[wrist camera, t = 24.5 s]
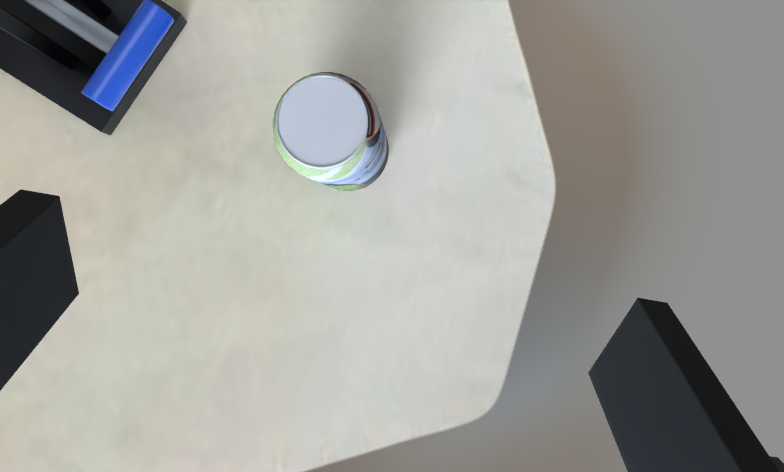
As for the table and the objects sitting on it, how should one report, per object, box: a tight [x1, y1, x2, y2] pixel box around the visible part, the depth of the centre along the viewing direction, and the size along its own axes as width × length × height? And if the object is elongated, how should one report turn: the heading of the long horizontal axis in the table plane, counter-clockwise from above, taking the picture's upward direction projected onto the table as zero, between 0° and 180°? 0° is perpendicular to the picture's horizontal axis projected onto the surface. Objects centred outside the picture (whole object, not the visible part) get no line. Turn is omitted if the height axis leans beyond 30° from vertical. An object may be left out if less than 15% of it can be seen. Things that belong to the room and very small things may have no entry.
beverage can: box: [273, 72, 389, 191], centre depth 32 cm, size 6×7×12 cm
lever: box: [24, 0, 174, 111], centre depth 26 cm, size 11×6×2 cm, turn 57°
